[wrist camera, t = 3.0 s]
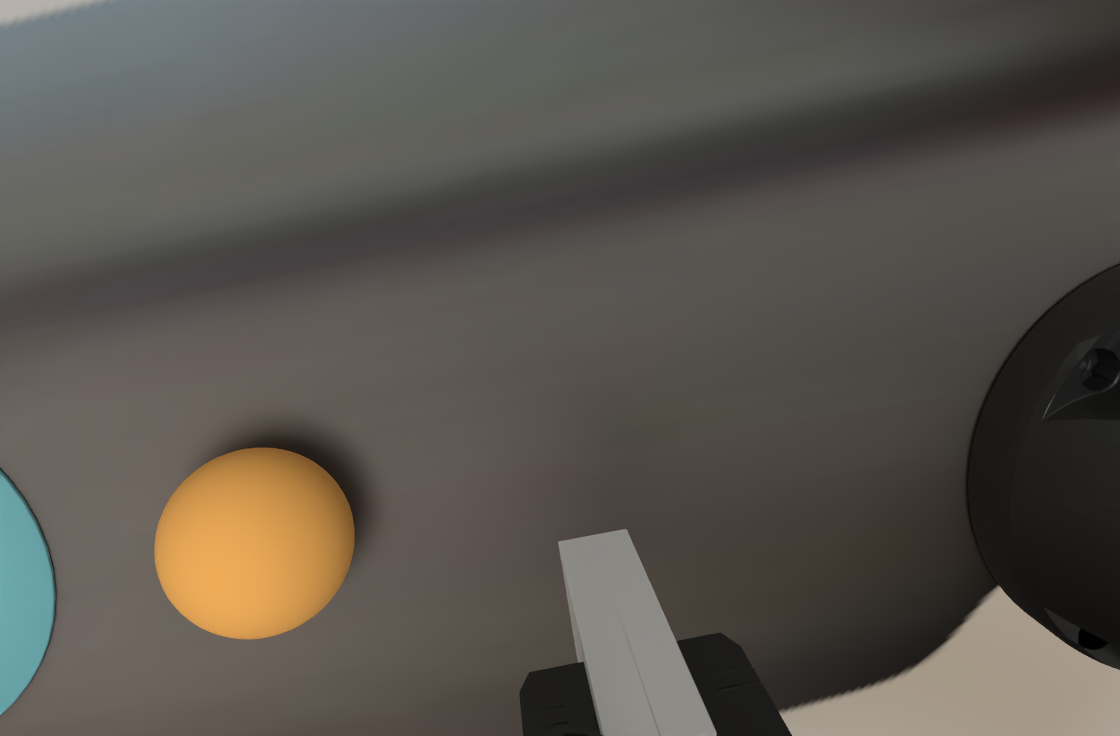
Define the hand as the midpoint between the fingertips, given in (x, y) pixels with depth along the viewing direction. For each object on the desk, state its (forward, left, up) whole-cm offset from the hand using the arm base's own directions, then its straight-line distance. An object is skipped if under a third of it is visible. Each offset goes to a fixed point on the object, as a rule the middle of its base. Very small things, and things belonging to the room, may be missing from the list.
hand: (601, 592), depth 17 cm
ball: (+9, 0, -7) cm, 12 cm away
